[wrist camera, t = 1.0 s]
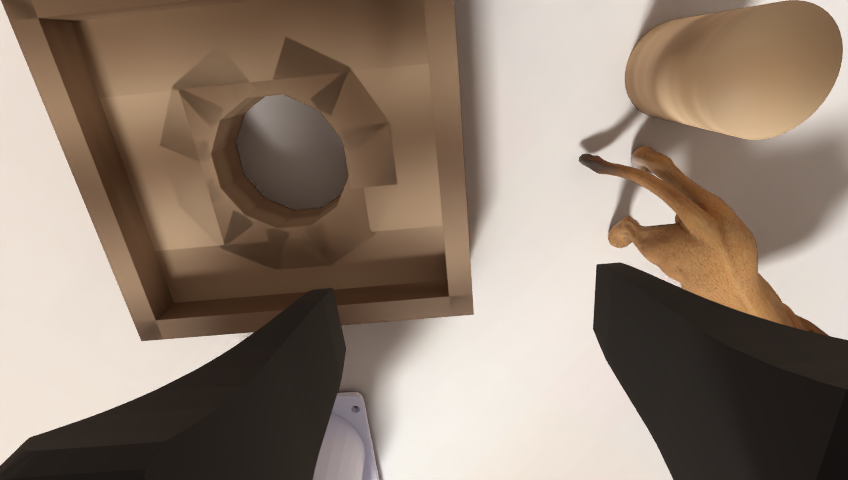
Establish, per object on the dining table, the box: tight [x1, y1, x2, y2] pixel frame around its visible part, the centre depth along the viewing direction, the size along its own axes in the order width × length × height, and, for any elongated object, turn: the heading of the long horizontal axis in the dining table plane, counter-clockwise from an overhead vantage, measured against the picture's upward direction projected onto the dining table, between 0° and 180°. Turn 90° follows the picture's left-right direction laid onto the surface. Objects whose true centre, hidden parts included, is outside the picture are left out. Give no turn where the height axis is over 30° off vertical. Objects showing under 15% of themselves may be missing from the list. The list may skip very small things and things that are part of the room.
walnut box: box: [1, 0, 474, 341], centre depth 19 cm, size 14×15×4 cm
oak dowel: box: [625, 0, 843, 140], centre depth 16 cm, size 4×4×6 cm
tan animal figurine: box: [579, 146, 828, 336], centre depth 18 cm, size 15×5×9 cm, turn 50°
